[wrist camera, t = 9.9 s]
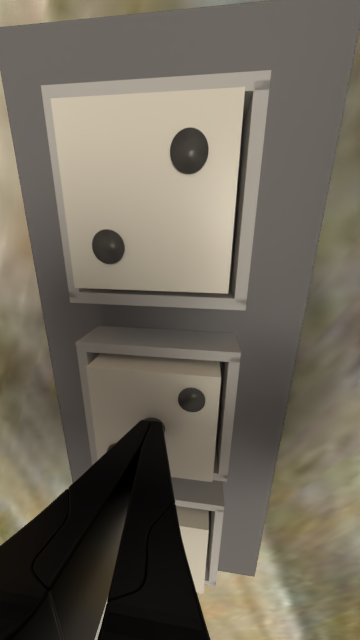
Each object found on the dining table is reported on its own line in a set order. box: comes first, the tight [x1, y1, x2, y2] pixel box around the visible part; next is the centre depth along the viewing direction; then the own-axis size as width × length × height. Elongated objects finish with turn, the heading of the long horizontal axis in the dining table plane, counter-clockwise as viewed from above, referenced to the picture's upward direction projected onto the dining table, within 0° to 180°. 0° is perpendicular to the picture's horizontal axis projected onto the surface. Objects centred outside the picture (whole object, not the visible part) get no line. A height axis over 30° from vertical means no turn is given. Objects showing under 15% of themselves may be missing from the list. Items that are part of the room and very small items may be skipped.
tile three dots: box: [86, 353, 221, 482], centre depth 10 cm, size 5×5×2 cm
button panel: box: [0, 0, 360, 587], centre depth 11 cm, size 12×28×4 cm, turn 179°
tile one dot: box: [176, 506, 209, 594], centre depth 12 cm, size 5×5×2 cm
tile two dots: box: [50, 87, 245, 294], centre depth 7 cm, size 5×5×2 cm
